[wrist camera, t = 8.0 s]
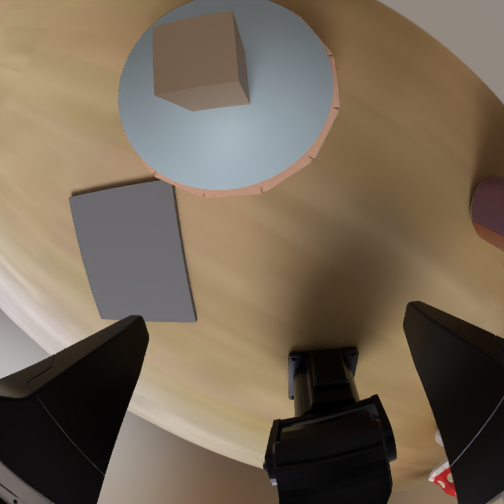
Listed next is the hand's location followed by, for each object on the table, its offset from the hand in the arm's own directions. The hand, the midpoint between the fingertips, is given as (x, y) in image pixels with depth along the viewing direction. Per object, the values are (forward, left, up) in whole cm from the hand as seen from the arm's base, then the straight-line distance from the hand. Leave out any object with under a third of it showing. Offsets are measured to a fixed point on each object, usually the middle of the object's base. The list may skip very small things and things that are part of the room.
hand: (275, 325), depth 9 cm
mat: (-2, +12, -12) cm, 17 cm away
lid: (+9, +2, -8) cm, 12 cm away
